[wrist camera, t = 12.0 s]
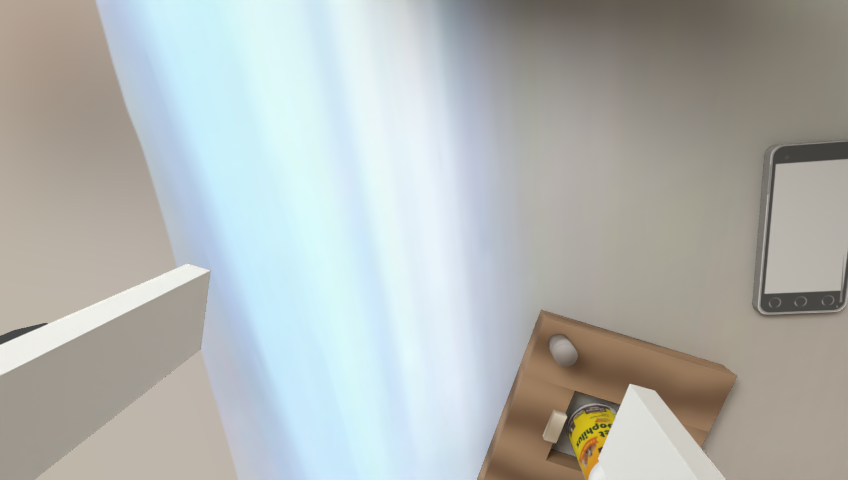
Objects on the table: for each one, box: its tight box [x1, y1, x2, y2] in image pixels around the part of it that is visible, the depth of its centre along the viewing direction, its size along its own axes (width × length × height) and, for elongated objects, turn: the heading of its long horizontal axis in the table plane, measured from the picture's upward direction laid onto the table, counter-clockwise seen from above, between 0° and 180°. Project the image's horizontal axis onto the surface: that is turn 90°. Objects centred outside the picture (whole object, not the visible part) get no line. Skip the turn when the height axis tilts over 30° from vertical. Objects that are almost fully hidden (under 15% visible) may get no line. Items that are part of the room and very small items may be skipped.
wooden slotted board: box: [477, 310, 737, 480], centre depth 39 cm, size 20×18×4 cm
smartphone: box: [752, 140, 848, 315], centre depth 36 cm, size 7×1×15 cm
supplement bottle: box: [567, 403, 618, 480], centre depth 36 cm, size 6×6×10 cm
